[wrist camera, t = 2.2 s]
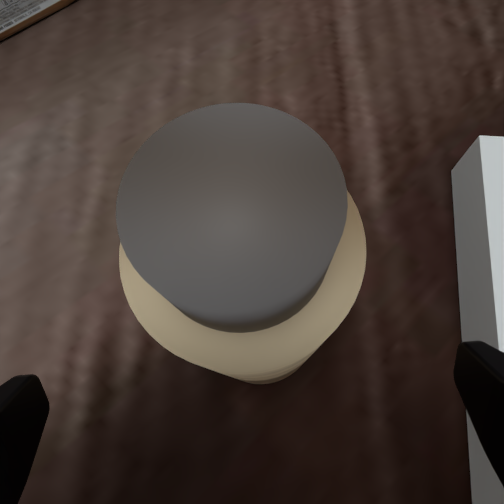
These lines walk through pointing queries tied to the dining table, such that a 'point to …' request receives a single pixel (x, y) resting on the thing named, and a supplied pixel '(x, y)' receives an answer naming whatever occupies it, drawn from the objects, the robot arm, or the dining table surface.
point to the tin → (25, 13)
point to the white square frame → (481, 275)
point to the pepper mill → (239, 240)
